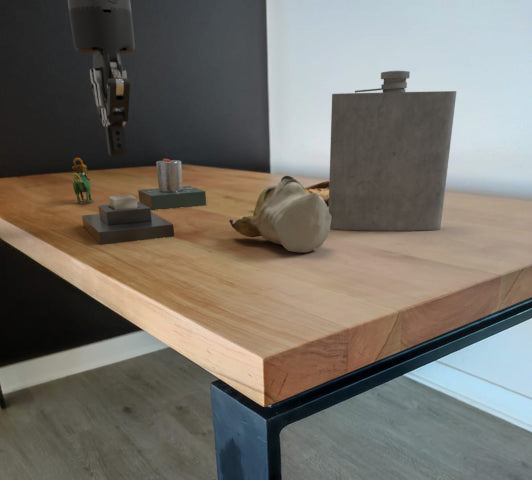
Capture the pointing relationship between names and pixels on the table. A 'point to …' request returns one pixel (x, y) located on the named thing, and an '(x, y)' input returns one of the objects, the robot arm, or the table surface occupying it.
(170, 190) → the silver cylinder cluster
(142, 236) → the dark grey stepped block
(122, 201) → the cream rectangular block
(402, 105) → the hip flask
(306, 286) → the table surface
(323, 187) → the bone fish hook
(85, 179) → the figurine
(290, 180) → the ceramic sculpture
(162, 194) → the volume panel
